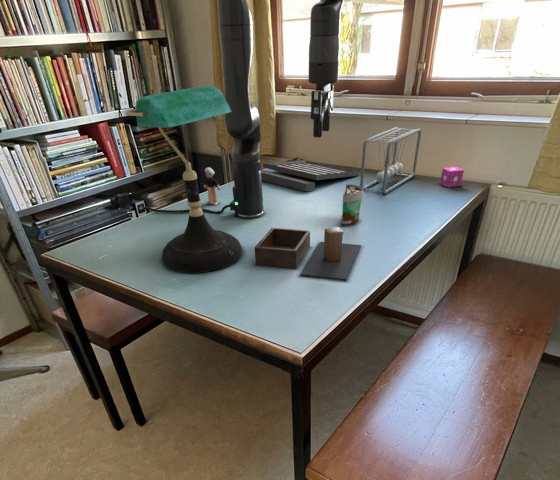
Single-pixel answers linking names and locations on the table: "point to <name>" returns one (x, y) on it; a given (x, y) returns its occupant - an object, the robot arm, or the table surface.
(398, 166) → the newton's cradle
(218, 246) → the banker's lamp
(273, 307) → the table surface
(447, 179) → the puzzle toy
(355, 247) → the mat
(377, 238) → the table surface
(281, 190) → the table surface
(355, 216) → the food container
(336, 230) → the wooden block
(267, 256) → the crate
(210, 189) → the grandmother figurine
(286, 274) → the table surface
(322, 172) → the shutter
